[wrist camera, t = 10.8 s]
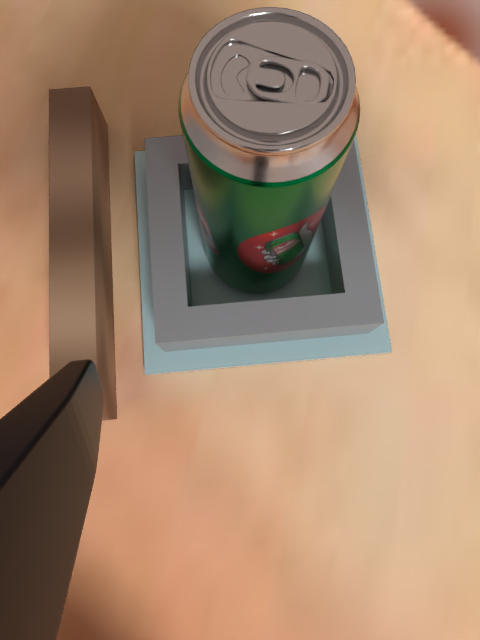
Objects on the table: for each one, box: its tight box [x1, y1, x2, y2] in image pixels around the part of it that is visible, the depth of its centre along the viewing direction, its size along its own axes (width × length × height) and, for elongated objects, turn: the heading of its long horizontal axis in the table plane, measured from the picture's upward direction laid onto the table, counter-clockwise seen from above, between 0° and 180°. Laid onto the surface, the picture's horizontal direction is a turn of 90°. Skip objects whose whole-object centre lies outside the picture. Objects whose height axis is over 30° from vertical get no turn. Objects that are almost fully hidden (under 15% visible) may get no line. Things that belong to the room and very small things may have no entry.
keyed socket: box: [135, 135, 392, 375], centre depth 22 cm, size 12×12×3 cm
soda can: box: [179, 7, 360, 293], centre depth 18 cm, size 5×5×12 cm
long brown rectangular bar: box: [49, 87, 117, 420], centre depth 22 cm, size 16×2×3 cm, turn 5°
